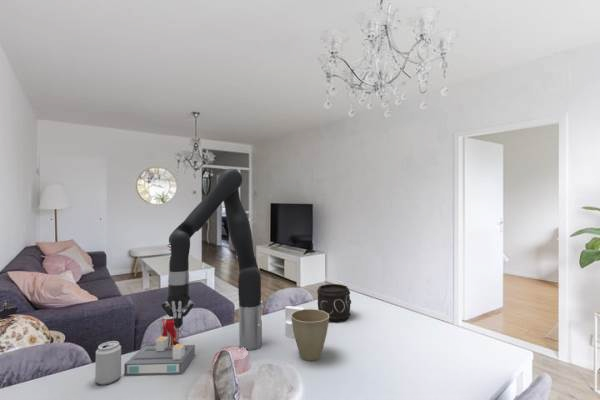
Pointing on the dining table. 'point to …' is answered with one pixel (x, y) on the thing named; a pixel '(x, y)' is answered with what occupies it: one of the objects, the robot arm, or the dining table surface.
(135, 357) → the console
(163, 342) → the slider
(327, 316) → the plant pot
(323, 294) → the dark brown cylinder
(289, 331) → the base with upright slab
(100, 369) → the can
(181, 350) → the slider
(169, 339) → the soda can
